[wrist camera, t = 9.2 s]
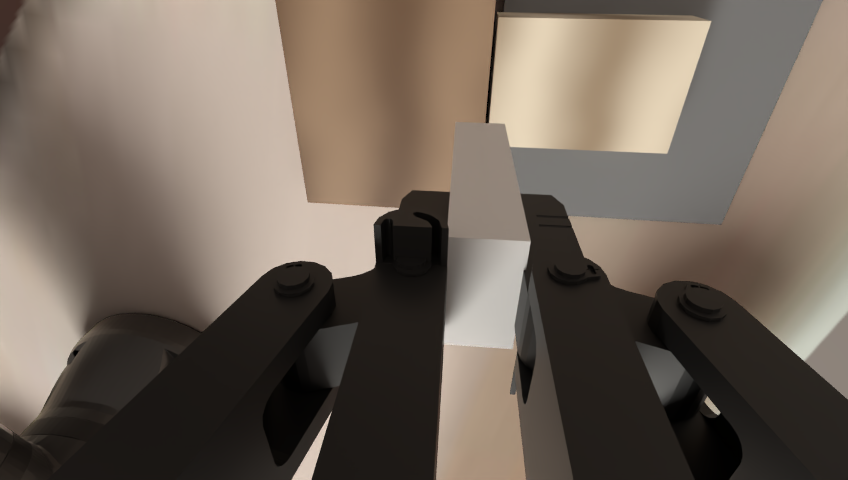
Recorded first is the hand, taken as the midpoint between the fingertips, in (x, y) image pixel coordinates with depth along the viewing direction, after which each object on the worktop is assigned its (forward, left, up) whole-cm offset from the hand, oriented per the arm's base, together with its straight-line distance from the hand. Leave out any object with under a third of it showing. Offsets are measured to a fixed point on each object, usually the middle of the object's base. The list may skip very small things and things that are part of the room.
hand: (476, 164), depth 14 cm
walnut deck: (-4, 0, -11) cm, 12 cm away
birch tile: (+5, 0, -11) cm, 12 cm away
